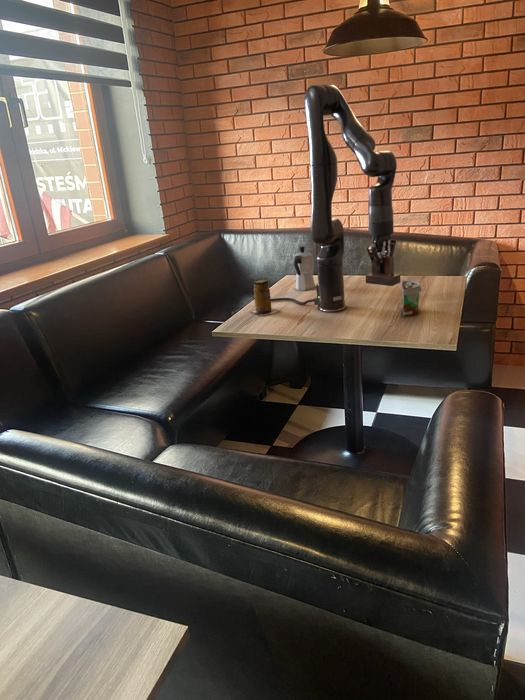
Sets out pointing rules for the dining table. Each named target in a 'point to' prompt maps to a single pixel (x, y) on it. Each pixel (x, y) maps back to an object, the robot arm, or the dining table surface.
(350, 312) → the dining table surface
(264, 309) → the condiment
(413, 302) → the food container
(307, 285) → the coffee maker
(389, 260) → the brown stepped block
